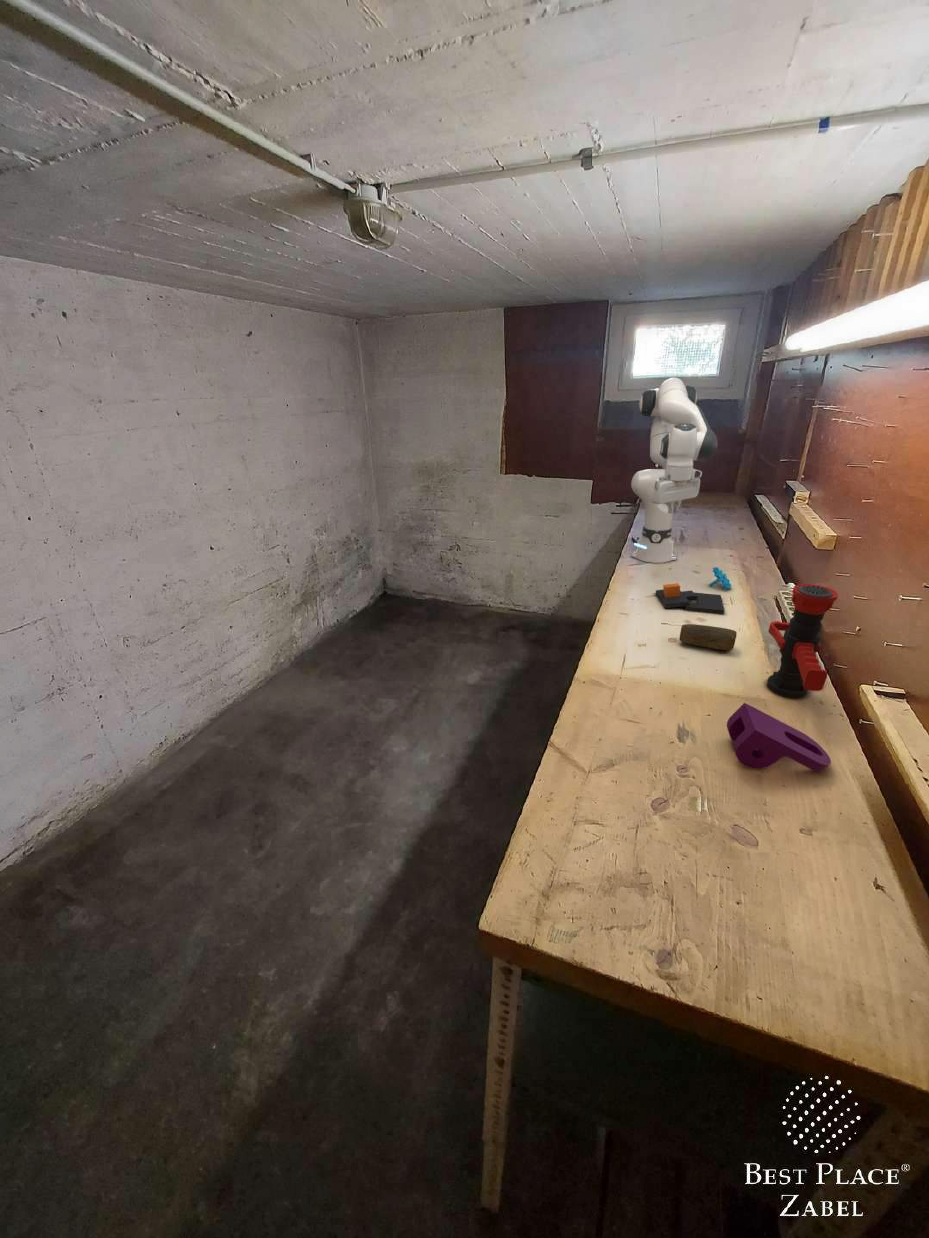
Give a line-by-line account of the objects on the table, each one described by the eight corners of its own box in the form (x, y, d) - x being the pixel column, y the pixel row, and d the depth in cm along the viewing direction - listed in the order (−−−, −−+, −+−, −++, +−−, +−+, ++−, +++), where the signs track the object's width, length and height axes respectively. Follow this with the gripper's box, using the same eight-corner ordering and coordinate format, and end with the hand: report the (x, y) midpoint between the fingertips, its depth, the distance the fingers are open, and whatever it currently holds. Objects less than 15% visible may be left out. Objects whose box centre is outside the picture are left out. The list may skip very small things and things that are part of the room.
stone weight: (733, 644, 145) (737, 625, 142) (733, 655, 140) (738, 635, 137) (679, 636, 151) (682, 617, 148) (677, 646, 146) (681, 627, 143)
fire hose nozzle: (809, 613, 101) (780, 572, 123) (778, 718, 114) (756, 664, 135) (864, 617, 99) (825, 575, 120) (826, 725, 111) (796, 669, 132)
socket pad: (684, 595, 180) (684, 591, 179) (720, 598, 176) (720, 594, 175) (685, 610, 168) (685, 606, 167) (723, 614, 164) (724, 610, 163)
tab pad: (655, 593, 182) (655, 580, 180) (688, 589, 180) (688, 576, 178) (665, 608, 169) (664, 593, 167) (700, 604, 167) (700, 589, 165)
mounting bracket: (792, 766, 107) (719, 728, 108) (820, 742, 103) (744, 702, 104) (806, 798, 99) (727, 756, 100) (838, 773, 95) (755, 729, 96)
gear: (729, 590, 178) (713, 567, 180) (715, 598, 182) (699, 576, 184) (735, 584, 186) (720, 563, 188) (721, 592, 190) (706, 571, 192)
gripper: (663, 478, 162) (658, 519, 168) (705, 471, 170) (699, 510, 176) (649, 476, 167) (644, 515, 173) (690, 469, 175) (684, 507, 181)
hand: (672, 513), depth 175 cm, fingers closed
